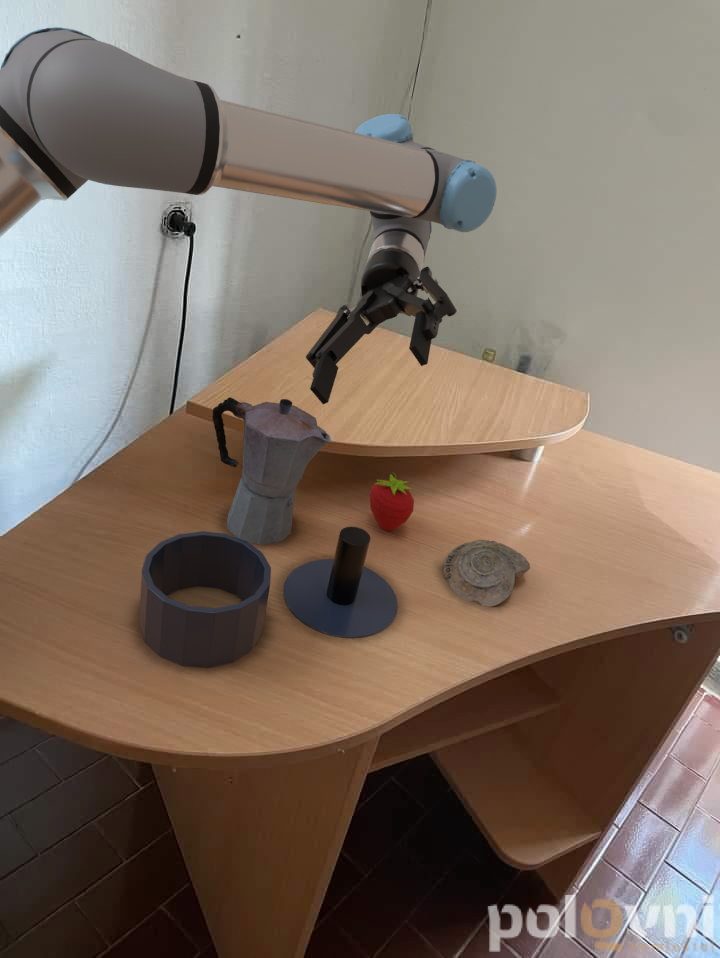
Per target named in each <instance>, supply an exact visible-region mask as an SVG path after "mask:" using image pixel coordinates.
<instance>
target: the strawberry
mask: <svg viewBox="0 0 720 958" xmlns="http://www.w3.org/2000/svg"><path fill="white" fill-rule="evenodd" d="M393 475H394V476H393ZM376 481H377V482H374V484H373V485H372V486H371V489H370V491H369V506H370V510H371V512H372V515H373V517H374V519H375V521H376V523H377V524H378V526H379V528H381V529H382V530H383V531H386V532H390V531H393V530H396V529H398V528H399V527H401V526H402V525H404V524H405V523H406V522H407V521H408V520H409V518H410V517H411V515H412V514H413V512H414V508H415V507H414V506H415V505H414V504H415V500H414V496H413V494H412V493H411V492H410V491H413V489H412V488H410V487H409V486H406V485H405V484H408V483H410V480H409V481H405V480H404V481H403V479H397V475H396V474H395V472H394V471H392V474H389V479H376Z"/></svg>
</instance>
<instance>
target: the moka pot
mask: <svg viewBox="0 0 720 958" xmlns="http://www.w3.org/2000/svg"><path fill="white" fill-rule="evenodd" d="M225 412H230V413H232V415H233V416H234V417H236V418H238V419H240V420H243V425H244V427H243V428H244V429H243V447H242V465H241V471H242V472H241V477H240V480H239V483H238V485H237V488H236V491H235V494H234V497H233V500H232V503H231V505H230V507H229V511H228V513H227V517H226V518H227V519H226V529H227V530H228V531H229V532H230V533H231V534H233V535H234V537H236V538H239V539H242V540H245V541H247V542H248V543H250V544H255V545H259V546H260V545H263V546H264V545H269V544H277V543H281V542H282V541H284V540H285V539H286V538H288V537H289V536H290V535H291V533H292V528H293V527H292V526H293V515H294V504H295V493H296V492H295V490H296V488H297V487H298V482H300V481H301V480H302V478H303V475H304V473H305V470H306V468H307V466H308V464H309V462H310V461H311V460H312V459H313V458H315V456H316V455H317V454H318V453H319V452H320V451H321V450H322V448H323V447H324V446H325V445H326V444H331V442H332V439H331V438H332V437H331V436H330V434H329V433H327V431H326V430H325V429H323V428H322V427H320V426H319V425H318V420H317V418H316V417H315V416H313V415H312V414H310V413H309V412H307V411H305V410H303V409H302V408H300V407H298V406H296V405H293V402H292V400H290V399H287V398H281V399H280V400H279V402H271V401H264V402H261V403H258V404H255V405H253V404H250V403H248V402H245V401H242V402H241V401H238V400H236V399H235V398H234V397H227V399H224V400H223V402H220V403H219V404H217V405H216V406H215V407H213V408H212V421H213V428H214V430H215V436H216V442H217V444H218V447H217V448H218V451H219V458H220V461H221V463H223V464H225V465H228V466H230V467H233V468H237V466H238V465H239V464H240V463H239V461H238V460H237V459H234V458H231V457H230V456H229V450H228V448H227V438H226V431H225V427H224V426H225V424H224V419H223V413H225Z"/></svg>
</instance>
